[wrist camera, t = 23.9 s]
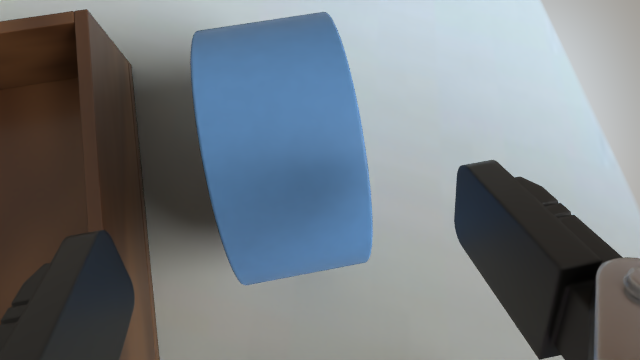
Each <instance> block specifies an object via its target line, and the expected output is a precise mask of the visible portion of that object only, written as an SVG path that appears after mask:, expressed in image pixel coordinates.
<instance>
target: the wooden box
mask: <svg viewBox="0 0 640 360" xmlns="http://www.w3.org/2000/svg"><path fill="white" fill-rule="evenodd" d="M99 230H105V231H107V232H108V233H109V234H110V236H111V237H112V239H113V242H114V244H115V246H116V248H117V250H118V252H119V254H120V256H121V259H122V261H123V263H124V265H125V267H126V269H127V271H128V274H129V276H130V278H131V280H132V283H133V287H134V293H135V305H134V310H133V313H132V317H131V321H130V324H129V328H128V331H127V335H126V339H125V342H124V346H123V349H122V353H121V357H120V360H160V359H159V349H158V339H157V328H156V318H155V307H154V297H153V286H152V276H151V265H150V255H149V245H148V234H147V224H146V213H145V203H144V192H143V182H142V171H141V161H140V151H139V140H138V130H137V119H136V109H135V98H134V88H133V77H132V67H131V64H130V63H129V61H128V60H127V59H126V58H125V57H124V55H123V54H122V53H121V51H120V50H119V49H118V48H117V46H116V45H115V44H114V43H113V41H112V40H111V39H110V38H109V36H108V35H107V34H106V33H105V31H104V30H103V29H102V28H101V26H100V25H99V24H98V22H97V21H96V20H95V19H94V17H93V16H92V15H91V14H90V12H89V11H88V10H87V9H85V10H78V11H74V12H73V11H71V12H64V13H57V14H50V15H43V16H36V17H29V18H22V19H15V20H8V21H1V22H0V325H1V319H2V318H3V316H4V314H5V313H6V311H7V309H8V308H10V307H11V306H12V305H11V303H12V301H13V300H14V298H15V296H16V295H17V293H18V291H19V290H20V288H21V286H22V285H23V283H24V282H25V281H26V280H27V279H28V278H29V277H31V276H32V275H33V274H34V273H35V272H36V271H37V270H38V269H39V268H40V267H41V266H42V265H43V264H46V263H51V261H52V259H53V257H54V256H55V254H56V252H57V250H58V248H59V247H60V245H61V243H62V241H63V240H64V239H65V238H66V237H67V236H71V235H77V234H82V233H88V232H93V231H99Z"/></svg>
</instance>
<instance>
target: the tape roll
mask: <svg viewBox="0 0 640 360" xmlns="http://www.w3.org/2000/svg"><path fill="white" fill-rule="evenodd" d="M191 83H192V95H193V104H194V112H195V120H196V127H197V134H198V140H199V145H200V151H201V157H202V162H203V167H204V172H205V177H206V182H207V186H208V191H209V196H210V200H211V204H212V208H213V212H214V216H215V220H216V223H217V227H218V230H219V234H220V237H221V240H222V243H223V246H224V250H225V252H226V255H227V258H228V260H229V263H230V265H231V267H232V270H233V272H234V274H235V275H236V277H237V279H238V280H239V281H240V283H241V284H243V285H250V284H255V283H261V282H266V281H271V280H276V279H281V278H287V277H292V276H297V275H302V274H308V273H313V272H318V271H323V270H328V269H334V268H339V267H344V266H349V265H354V264H360V263H365V262H367V261H368V259H369V257H370V254H371V247H372V204H371V191H370V181H369V172H368V164H367V157H366V149H365V143H364V137H363V131H362V125H361V119H360V114H359V109H358V104H357V99H356V94H355V89H354V85H353V81H352V77H351V72H350V68H349V65H348V61H347V57H346V54H345V51H344V47H343V44H342V41H341V38H340V36H339V33H338V30H337V28H336V26H335V24H334V22H333V20H332V18H331V17H330V15H329V14H328V13H326V12H320V13H313V14H307V15H300V16H293V17H287V18H280V19H273V20H267V21H260V22H253V23H247V24H240V25H233V26H227V27H220V28H213V29H207V30H200V31H197V32H195V34H194V35H193V39H192V45H191Z"/></svg>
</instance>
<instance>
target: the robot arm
mask: <svg viewBox="0 0 640 360" xmlns="http://www.w3.org/2000/svg"><path fill="white" fill-rule="evenodd" d="M454 222H455V229H456V234H457V237H458V239H459V242H460V244H461V245H462V247H463V248H464V250H465V251H466V253H467V254H468V256H469V257H470V259H471V260H472V262H473V263H474V265H475V266H476V267H477V269H478V270H479V272H480V273H481V275H482V276H483V278H484V279H485V281H486V282H487V284H488V285H489V287H490V288H491V289H492V291H493V292H494V294H495V295H496V297H497V298H498V300H499V301H500V303H501V304H502V306H503V307H504V309H505V310H506V311H507V313H508V314H509V316H510V317H511V319H512V320H513V322H514V323H515V325H516V326H517V328H518V329H519V330H520V332H521V333H522V335H523V336H524V338H525V339H526V341H527V342H528V344H529V345H530V347H531V348H532V350H533V351H534V352H535V354H536V355H537V357H538V358H539V360H540V359H544V358H549V357H553V356H558V355H562V356H563V358H564V359H565V360H640V259H639V258H628V257H627V258H623V257H622V256H620V255H619V254H618V253H617V252H616V251H615V250H614V249H612V248H611V247H610V246H609V245H608V244H607V243H606V242H604V241H603V240H602V239H601V238H600V237H599V236H598V235H597V234H595V233H594V232H593V231H592V230H591V229H590V228H589V227H587V226H586V225H585V224H584V223H583V222H582V221H581V220H579V219H578V218H577V217H576V216H575V215H571V212H570V211H569V210H568V209H567V208H566V207H565V206H563V205H562V204H561V203H559V204H558V200H557V199H555V198H554V197H553V196H552V195H551V194H550V193H549V192H548V191H546V190H545V189H544V188H543V187H542V186H539V185H537V184H535V183H533V182H531V181H529V180H526V179H524V178H522V177H515V178H514V177H513V176H512V175H511V174H510V173H509V172H508V171H506V170H505V169H504V168H503V167H502V166H501V165H500V164H499V163H498V162H497V161H495V160H489V161H484V162H478V163H473V164H467V165H462V166H460V167H459V169H458V172H457V184H456V201H455V217H454ZM11 305H12V306H11V307H10V308H8V309H7V311H6V313H5V314H4V316H3V318H2V319H1V325H0V360H120V357H121V353H122V349H123V346H124V342H125V339H126V335H127V331H128V328H129V324H130V321H131V317H132V313H133V310H134V305H135V293H134V287H133V283H132V280H131V278H130V276H129V274H128V271H127V269H126V267H125V265H124V263H123V261H122V259H121V256H120V254H119V252H118V250H117V248H116V246H115V244H114V242H113V239H112V237H111V236H110V234H109V233H108V232H107V231H105V230H99V231H93V232H88V233H82V234H77V235H71V236H67V237H66V238H65V239H64V240H63V241H62V243H61V245H60V247H59V248H58V250H57V252H56V254H55V256H54V257H53V259H52V261H51V263H46V264H43V265H42V266H41V267H40V268H39V269H38V270H37V271H36V272H35V273H34V274H33V275H32V276H31V277H29V278H28V279H27V280H26V281H25V282H24V283H23V285H22V286H21V288H20V290H19V291H18V293H17V295H16V296H15V298H14V300H13V301H12V303H11Z"/></svg>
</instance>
